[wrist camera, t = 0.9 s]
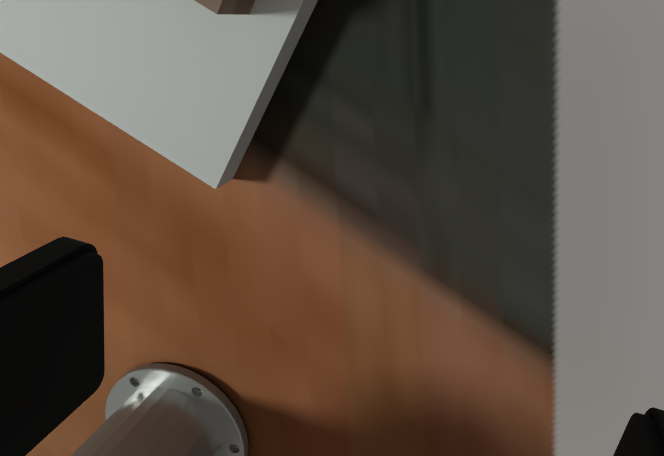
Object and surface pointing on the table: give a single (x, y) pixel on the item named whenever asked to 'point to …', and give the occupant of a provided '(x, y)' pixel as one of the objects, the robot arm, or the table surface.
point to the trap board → (162, 68)
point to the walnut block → (228, 6)
